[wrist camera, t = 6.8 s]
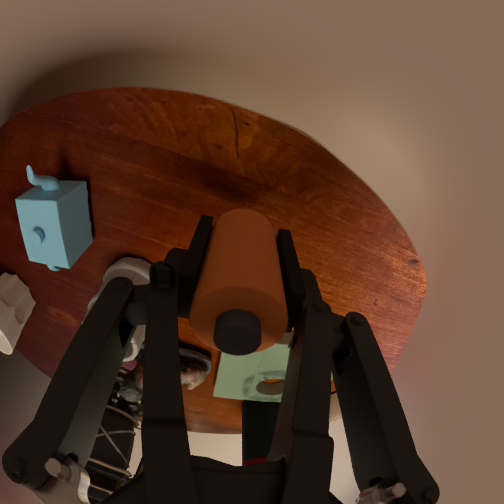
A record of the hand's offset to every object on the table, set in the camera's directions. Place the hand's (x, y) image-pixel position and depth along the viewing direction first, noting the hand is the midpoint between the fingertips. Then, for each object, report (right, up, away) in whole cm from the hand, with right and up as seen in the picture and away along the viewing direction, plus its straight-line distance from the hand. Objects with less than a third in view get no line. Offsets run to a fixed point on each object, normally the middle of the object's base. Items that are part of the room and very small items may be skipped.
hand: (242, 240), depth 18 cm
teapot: (-20, +5, +7) cm, 21 cm away
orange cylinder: (0, 0, 0) cm, 0 cm away
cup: (-39, -7, +14) cm, 42 cm away
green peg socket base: (+5, -18, +21) cm, 28 cm away
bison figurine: (-11, -15, +20) cm, 27 cm away
